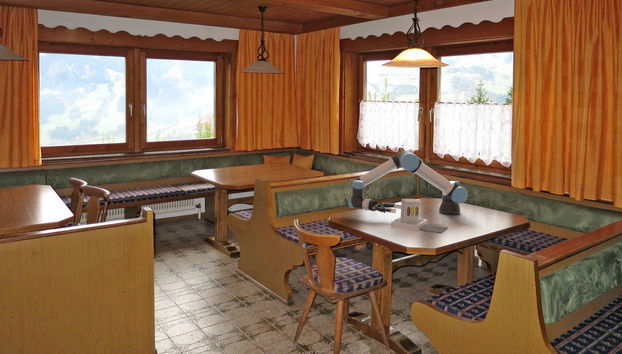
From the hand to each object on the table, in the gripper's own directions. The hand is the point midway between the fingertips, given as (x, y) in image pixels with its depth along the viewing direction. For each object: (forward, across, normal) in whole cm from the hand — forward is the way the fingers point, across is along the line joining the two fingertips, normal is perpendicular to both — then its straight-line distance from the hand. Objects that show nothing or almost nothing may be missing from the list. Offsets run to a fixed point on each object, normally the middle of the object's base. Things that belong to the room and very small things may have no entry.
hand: (399, 209), depth 351 cm
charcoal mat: (+24, +1, -10) cm, 26 cm away
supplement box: (+7, 0, -10) cm, 12 cm away
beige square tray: (+7, 0, -10) cm, 12 cm away
